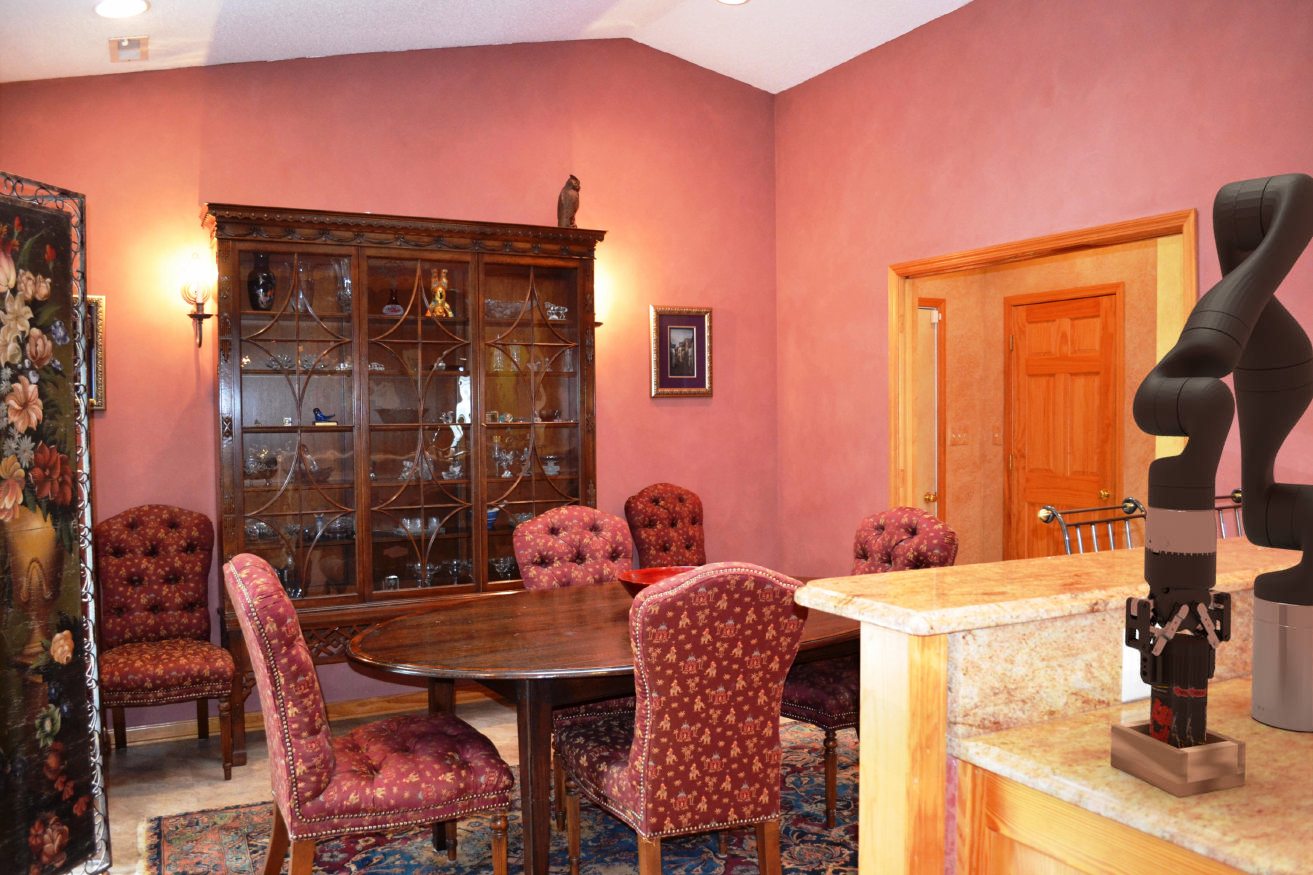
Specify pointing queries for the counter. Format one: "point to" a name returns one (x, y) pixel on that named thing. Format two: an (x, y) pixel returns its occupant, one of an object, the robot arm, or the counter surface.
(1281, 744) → the counter surface
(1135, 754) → the wooden box
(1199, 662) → the deodorant
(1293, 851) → the counter surface
